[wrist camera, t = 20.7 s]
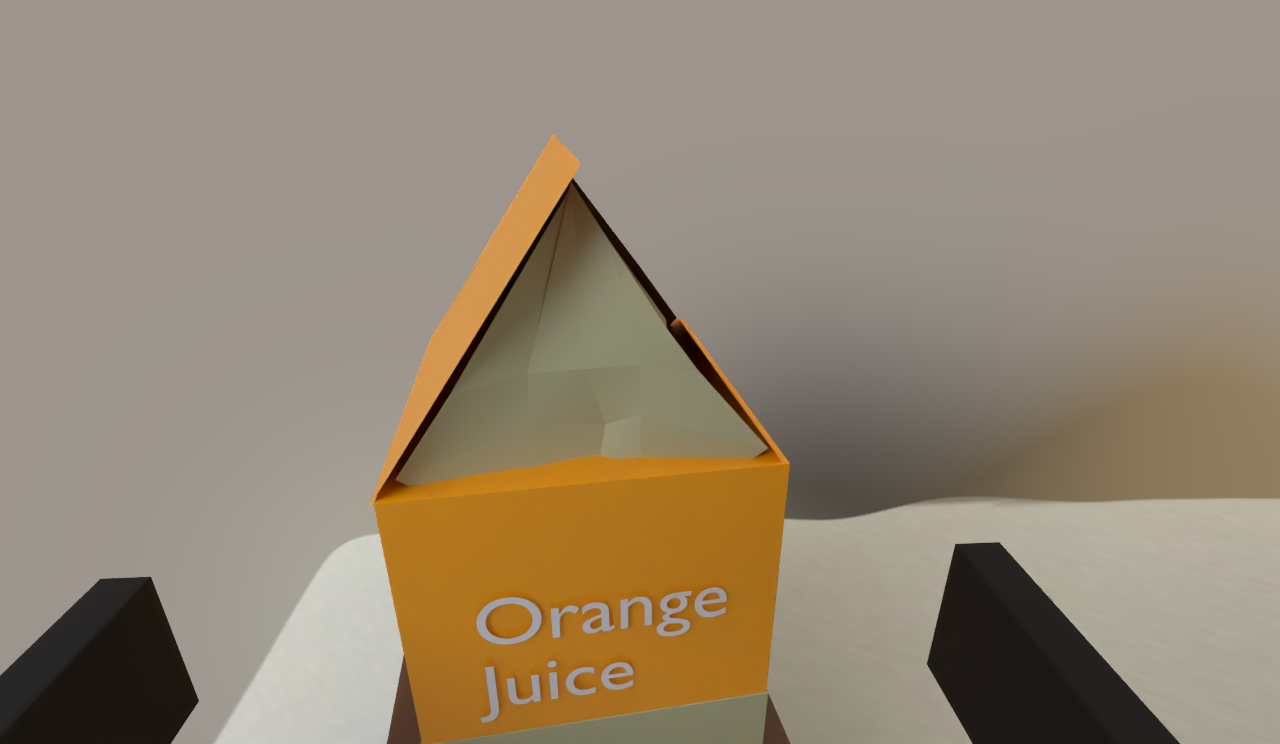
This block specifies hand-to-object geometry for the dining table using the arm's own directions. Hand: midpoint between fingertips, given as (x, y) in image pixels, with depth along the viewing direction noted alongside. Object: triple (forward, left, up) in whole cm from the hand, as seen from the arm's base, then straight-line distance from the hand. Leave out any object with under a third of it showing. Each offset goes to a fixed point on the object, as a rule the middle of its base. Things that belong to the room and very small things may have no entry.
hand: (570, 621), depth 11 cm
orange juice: (-1, -6, -13) cm, 14 cm away
